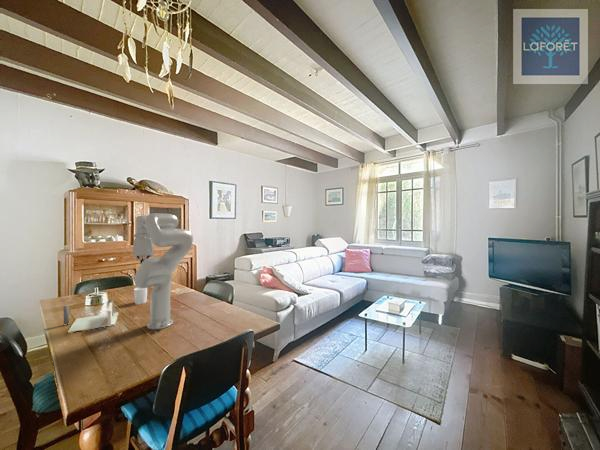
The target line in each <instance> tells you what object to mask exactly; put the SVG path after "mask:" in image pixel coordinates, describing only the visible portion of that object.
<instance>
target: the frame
mask: <svg viewBox="0 0 600 450" xmlns="http://www.w3.org/2000/svg"><path fill="white" fill-rule="evenodd" d="M110 302H112V321H111V325H115V326H116V324H117V320H118V317H119V312H118V311H117V312H114V300H113V299H111V300H108V304H109V303H110ZM69 311H70V306H69V305H66V306H63V325H64V324H68V323H69V324H70V319H69V318H70V316H69V315H70V312H69ZM117 316H118V317H117ZM104 326H108V313H104V314H97V315H92V316H85V317H79V318H75V320H74V321H73V323H72V324H71V326H70V327H69V329H68V330H67V332H71V331H79V330H86V329H92V328H98V327H104ZM104 328H105V327H104Z"/></svg>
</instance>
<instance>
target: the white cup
mask: <svg viewBox="0 0 600 450" xmlns="http://www.w3.org/2000/svg"><path fill="white" fill-rule="evenodd" d="M148 288H149V287H147V288H138V287H135V288H133V297H134V304H135V305H143V304H146V303H147V300H148V299H147V298H148Z"/></svg>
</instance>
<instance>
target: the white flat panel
mask: <svg viewBox="0 0 600 450" xmlns="http://www.w3.org/2000/svg"><path fill="white" fill-rule="evenodd" d="M107 314H108V326H110V327H112V326H111V321H112V302H110V303H109V302H108V308H107Z"/></svg>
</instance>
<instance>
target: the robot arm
mask: <svg viewBox="0 0 600 450" xmlns="http://www.w3.org/2000/svg"><path fill="white" fill-rule="evenodd" d="M179 222H180V221H179V218H178V217H177V216H176V215H174V214H171V213H157V212H155V213H154V212H153V213H152V212H151V213H149V214H148V215H144V214H143V215H138V216H136V217H135V234H132V237H133V238H134V240H133V243H132V257H133V258H137V259H138V260H139V262H140V265H139V267H138V268H137V271H136V272H135V274H134V279H133V283H134V285H135V286H136V288H147V287H148V288H152V287H153V288H152V289H151V292H150V295H149V297H150V302H149V307H150V308H149V310H150V311H149V313H150V314H149V316H150V317H149V319H150V321H149V322H148V323H147V324H146V328H147V329H149V330H161V329H165V328H168V327H170V326H172V325H173V324H174V319H173V318H171V288H172V287H171V286H172V279H173V272H175V270H176V269H177V267H179V265H180V263H181V261H182V260H183V258H185V257H186V256H187V255H188V253H189V252H190V250H191V249H192V246H193V240H194V236H193V233H192V232H191V231H190V230H188V229H184V228H177V227H178V225H179ZM154 246H155V247H157V248H166V247H167V248H168V247H170V248H168V249H167V250H166V251H164V254H163V255H162V256H157V257H154V256H155V254H154ZM143 256H144V258H143Z"/></svg>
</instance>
